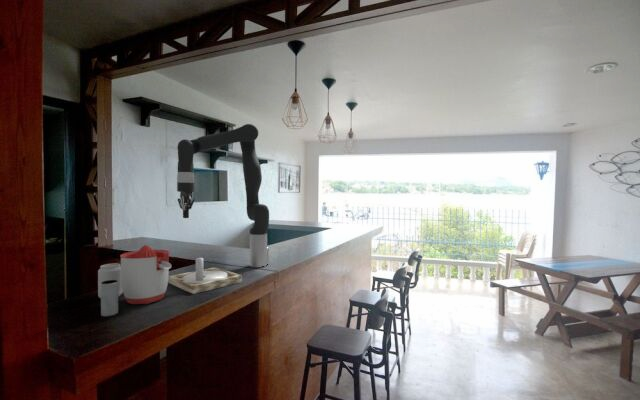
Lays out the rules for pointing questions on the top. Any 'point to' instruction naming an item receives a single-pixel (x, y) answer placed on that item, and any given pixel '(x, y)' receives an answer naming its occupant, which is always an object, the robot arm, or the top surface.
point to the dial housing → (197, 288)
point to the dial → (203, 274)
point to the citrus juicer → (144, 275)
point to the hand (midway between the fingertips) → (185, 217)
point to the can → (109, 276)
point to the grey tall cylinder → (109, 297)
